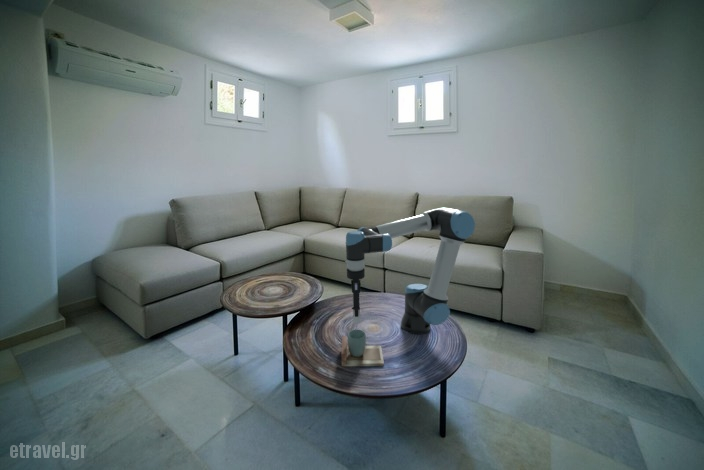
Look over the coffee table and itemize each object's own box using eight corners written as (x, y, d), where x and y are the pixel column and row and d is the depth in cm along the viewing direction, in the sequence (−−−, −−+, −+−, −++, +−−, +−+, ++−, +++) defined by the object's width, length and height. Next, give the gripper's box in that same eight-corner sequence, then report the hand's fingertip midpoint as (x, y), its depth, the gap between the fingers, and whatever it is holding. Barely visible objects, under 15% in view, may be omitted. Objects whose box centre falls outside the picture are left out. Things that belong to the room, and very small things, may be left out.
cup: (356, 346, 140) (356, 327, 138) (369, 353, 135) (369, 333, 133) (344, 354, 135) (344, 334, 133) (357, 361, 130) (356, 341, 127)
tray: (380, 347, 142) (381, 335, 140) (383, 365, 129) (383, 353, 127) (342, 348, 142) (342, 336, 140) (341, 366, 129) (341, 353, 128)
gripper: (347, 259, 138) (348, 301, 143) (346, 279, 114) (347, 330, 119) (363, 258, 138) (363, 301, 143) (365, 279, 114) (366, 329, 119)
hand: (356, 314), depth 131 cm, fingers open, 13 cm apart
